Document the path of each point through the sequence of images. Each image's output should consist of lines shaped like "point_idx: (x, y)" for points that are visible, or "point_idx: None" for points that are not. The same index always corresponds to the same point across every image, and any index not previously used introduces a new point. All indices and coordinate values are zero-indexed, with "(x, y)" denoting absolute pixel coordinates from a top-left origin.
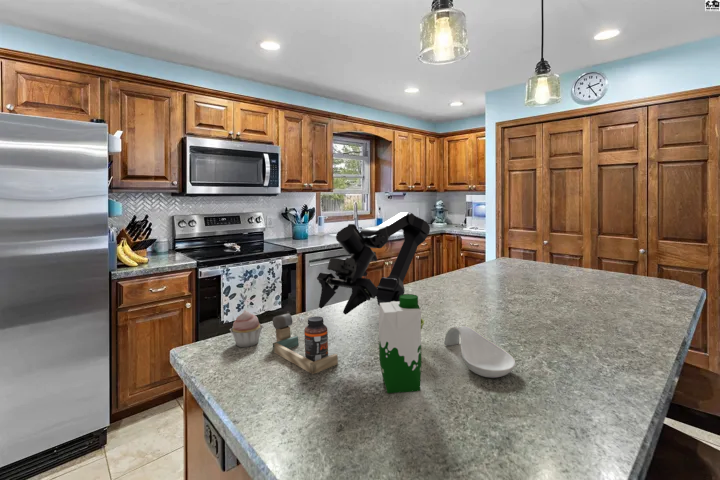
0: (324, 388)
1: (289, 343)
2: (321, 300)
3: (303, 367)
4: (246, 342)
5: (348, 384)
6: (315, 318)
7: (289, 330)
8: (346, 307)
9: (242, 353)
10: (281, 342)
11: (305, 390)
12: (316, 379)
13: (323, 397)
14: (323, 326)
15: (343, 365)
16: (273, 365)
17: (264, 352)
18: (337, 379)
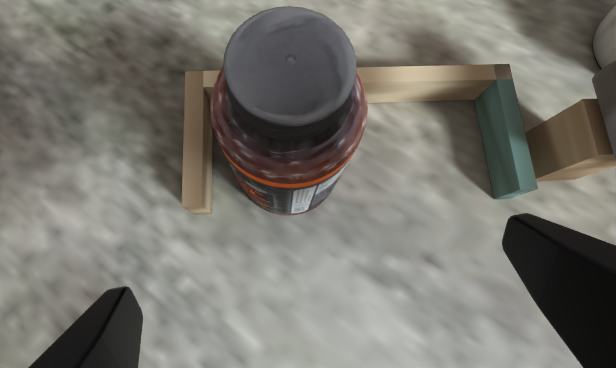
0: (79, 68)
1: (497, 146)
2: (584, 251)
3: None
4: (606, 20)
5: (28, 142)
6: (289, 59)
7: (581, 156)
8: (66, 339)
9: (539, 4)
10: (499, 99)
11: (121, 20)
12: (154, 83)
13: (36, 35)
14: (233, 121)
15: (167, 226)
16: (366, 34)
17: (501, 61)
18: (92, 136)
